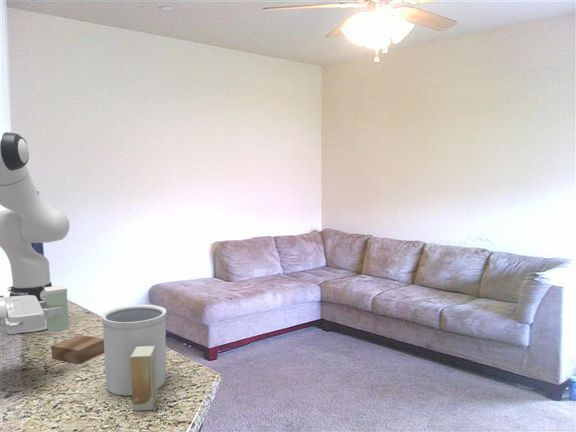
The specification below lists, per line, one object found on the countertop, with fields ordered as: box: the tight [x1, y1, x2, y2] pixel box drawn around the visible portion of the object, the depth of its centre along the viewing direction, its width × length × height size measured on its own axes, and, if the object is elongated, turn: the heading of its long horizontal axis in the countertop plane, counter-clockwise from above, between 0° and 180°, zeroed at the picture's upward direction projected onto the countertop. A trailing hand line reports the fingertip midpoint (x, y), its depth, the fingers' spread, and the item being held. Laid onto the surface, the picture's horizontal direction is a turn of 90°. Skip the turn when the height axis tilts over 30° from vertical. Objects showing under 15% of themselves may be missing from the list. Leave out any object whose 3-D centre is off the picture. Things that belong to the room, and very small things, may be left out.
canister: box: [44, 284, 70, 334], centre depth 128 cm, size 5×5×11 cm
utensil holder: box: [101, 304, 168, 396], centre depth 120 cm, size 15×15×18 cm
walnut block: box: [50, 334, 104, 365], centre depth 140 cm, size 10×10×4 cm
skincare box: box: [130, 346, 158, 412], centre depth 110 cm, size 6×4×12 cm
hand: (60, 306), depth 129 cm, fingers closed on canister, 5 cm apart
